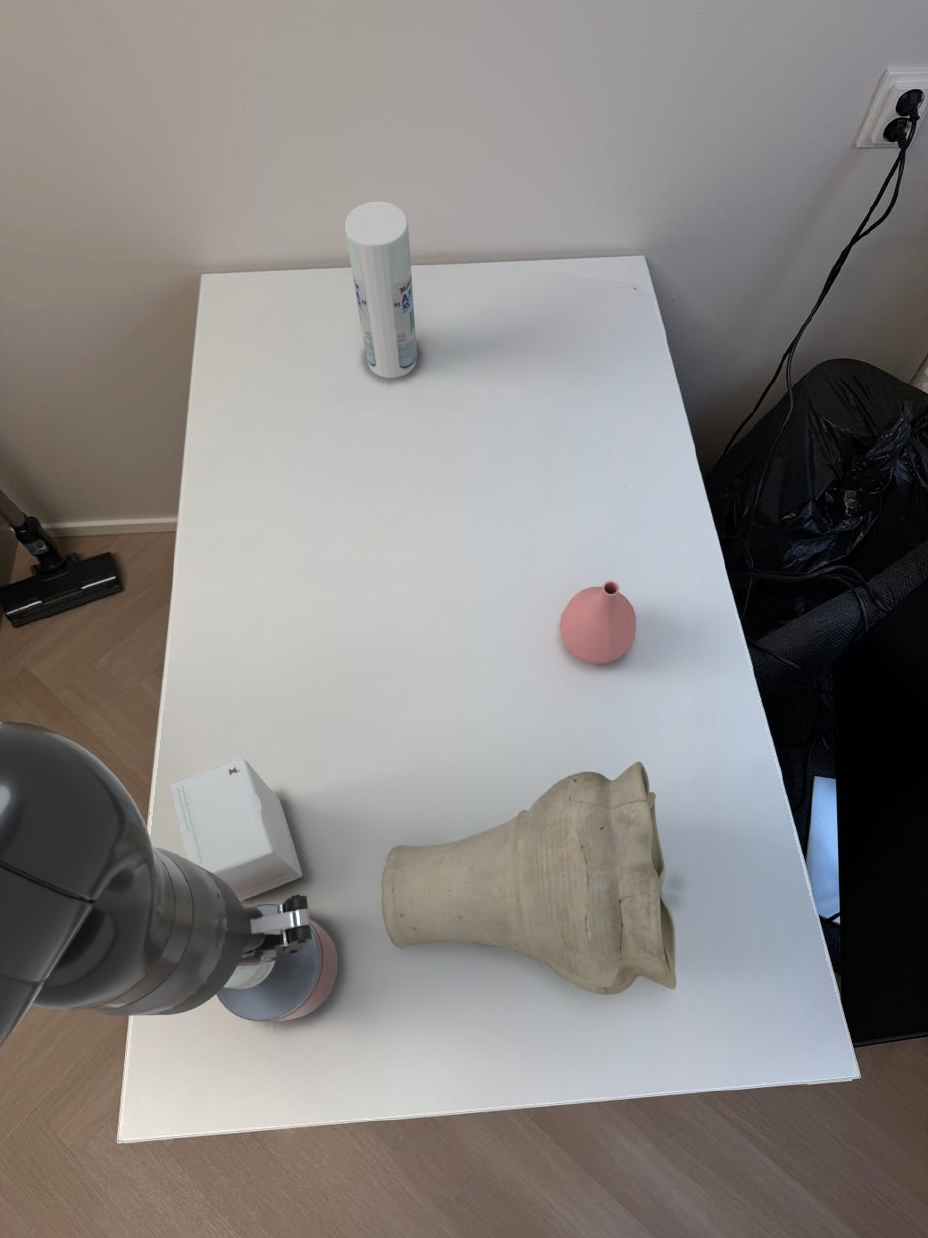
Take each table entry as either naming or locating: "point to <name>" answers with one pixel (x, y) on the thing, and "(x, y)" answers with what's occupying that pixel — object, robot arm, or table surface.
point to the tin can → (288, 981)
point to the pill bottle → (249, 976)
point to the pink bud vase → (598, 624)
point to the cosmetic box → (236, 828)
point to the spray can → (383, 286)
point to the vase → (549, 886)
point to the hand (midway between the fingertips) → (234, 953)
